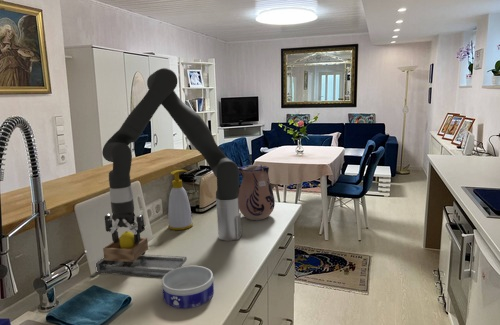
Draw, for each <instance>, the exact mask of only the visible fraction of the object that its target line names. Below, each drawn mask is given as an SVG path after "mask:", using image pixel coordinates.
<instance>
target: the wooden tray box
mask: <svg viewBox="0 0 500 325" xmlns="http://www.w3.org/2000/svg"><path fill="white" fill-rule="evenodd" d="M118 237H119V241H118V242H117V243H114V241H113V240H112V242H110V243H109V244H107V245H106V246H105V247H103V248H102V251H103V257H104V260H109V261H108V263H109V265H113V264H114V263H115V261H125V262H126V264H127V266H131V265H132V264H133V262H134V261H135V260H136V259H137V258H138V257H139V256H141V255H144V254H145V255H146V251H147V250H148V249H149V242H148V237H140V239H141V240H140V242H139V243H138V244H136V245H135V246H134V247H133V248H132V249H122V248H121V246H120V237H121V236H118Z"/></svg>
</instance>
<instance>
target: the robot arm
mask: <svg viewBox="0 0 500 325" xmlns="http://www.w3.org/2000/svg"><path fill="white" fill-rule="evenodd" d="M177 85H178V77H177V75H176V73H175V72H174V70H172V69H170V68H168V67H163V68H160V69H157V70H156V71H154V72H152V73H151V74H150V75H149V76H148V77H147V80H146V86H147V89H148V90H147V92H146V93H145V95H144V96H143V98H142V99H141V100H140V101H139V103H138V104H136V105H135V107H134V108H133V109H132V111H131V112H130V113H129V114H128V116H127V117H126V118H125V120H124V121H123V123H122V124H121V126H120V128H119V129H118V130H117V131H115V133H114V134H113V135H111V137H110V138H108V140H107V141H106V142H105V144H104V146H103V147H102V152H101V153H102V157H103V158H104V159H105V161H107V162H108V163H109V162H110V163H112V170H110V171H109V173H108V183H109V184H108V185H109V199H110V200H109V201H110V207H111V208H110V209H111V213H107V214H106V215H104V225H105V227H104V228H105V232H109V233H111V240H112V242H113V241H114V243H117V242H118V241H119V237H120V236H119V231H118V229H119V228H128V229H129V230H130V231H132V232H131V233H133V234H134V242H135V244H138V243H139V242H140V240H141V239H140V238H141V233H143V232H144V231H146V230H145V229H146V228H145V220H144V219H145V218H144V215H143V214H142V213H141V214H139V215H136V214H135V204H134V203H135V202H134V194H133V188H132V184H131V175H130V174H131V170H132V169H131V168H132V163H133V162H132V161H133V155H132V150H131V148H130V146H129V145H130V144H132V143H135V142H137V141H138V140H139V138H140V136H141V135H142V134H143V132H144V131H145V129H146V127H147V126H148V124H149V122H151V119H152V117H153V116H154V115H155V113H156V112H157V111H158V109H159V107H160V106H161V105H162V107H163V108H164V109H165V110H166V111H167V113H168V114H169V115H170V117H171V118H172V120H173V121H174V123H175V124H176V125H177V126H178V128H179V129H180V130H181V132H182V133H183V135H184V136H185V137H186V139H187V140H188V141H189V142H190V144H191V145H192V146H193V147H194V148H195V149H196V150H197V152H199V153H200V155H202V157H203V158H204V159H205V161H206V162H207V164H208V166H209V168H210V169H211V171H212V173H213V175H214V176H215V177H216V192H215V201H216V203H215V204H216V218H217V233H218V234H217V235H218V239H219V240H221V241H227V242H228V241H235V240H239V239H240V237H241V236H242V234H243V233H242V217H241V215H242V213H241V212H240V210H239V199H238V192H239V188H240V172H239V169H238V167H239V166H238V164H236V162H234V161H233V160H231V159H230V158H228V156H226V154H225V153H224V152H223V150H221V148H220V147H219V146H218V144H217V142H216V139H215V138H214V135H213V133H212V132H211V130H210V128H209V127H208V124H206V122H205V121H204V119H203V118H202V116H201V115H200V114H199V113H197V112H196V111H195V110H194V109H193V108H191V107H190V106H188V105H187V104H186V103H184V102H183V100H181V99H180V96H178V94H177V92H176V91H175V89H176V88H177V87H178V86H177ZM113 222H114V223H113Z"/></svg>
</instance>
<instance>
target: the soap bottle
mask: <svg viewBox="0 0 500 325" xmlns="http://www.w3.org/2000/svg"><path fill="white" fill-rule="evenodd" d="M183 172H186V173H190V171H189V170H186V169H177V170H172V171H171V172H170V175H171V176H174V180H172V181H171V182H172V187H171V190H170V192H169V197H168V198H169V199H168V208H167V209H168V211H167V212H168V226H167V227H168V228H169V229H170V230H172V231H173V230H174V231H182V230H184V231H185V230H187V229H190V228H191V227H193V225H194V223H193V218H192V216H193V215H192V211H191V204H190V201H189V197H188V194H187V190H186V189H185V188H184V186H183V181H182V180H183V179H180V173H183Z"/></svg>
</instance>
